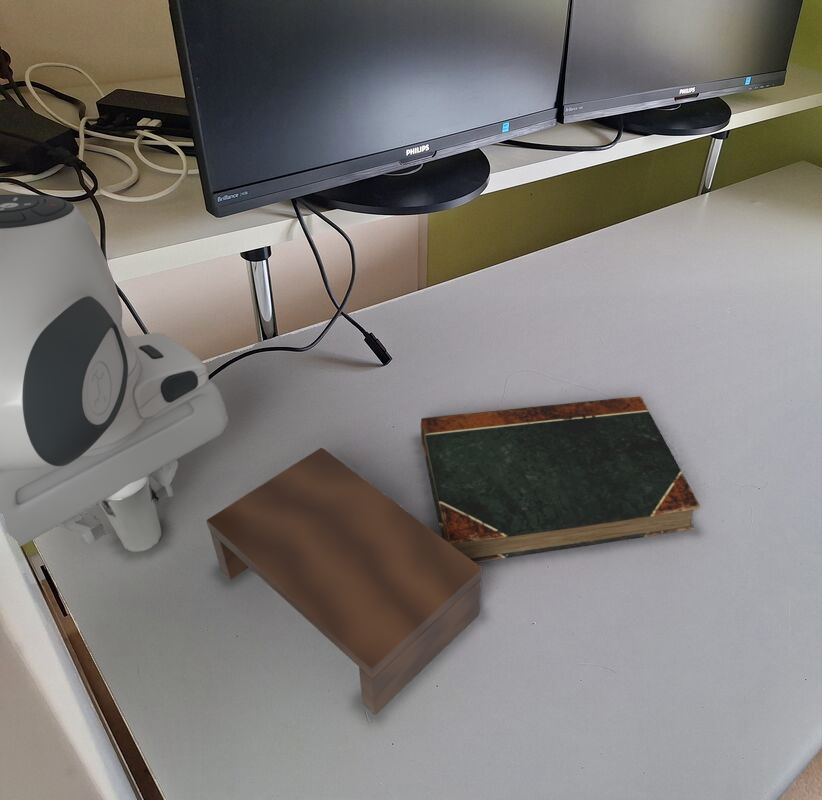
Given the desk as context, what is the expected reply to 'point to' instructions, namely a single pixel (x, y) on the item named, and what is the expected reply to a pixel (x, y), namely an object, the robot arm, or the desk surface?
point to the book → (553, 478)
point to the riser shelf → (352, 569)
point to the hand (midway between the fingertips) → (128, 515)
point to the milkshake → (134, 515)
